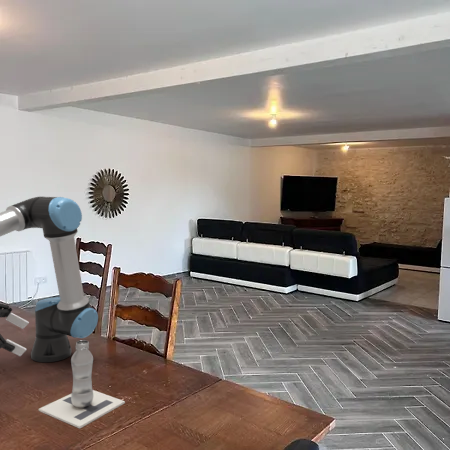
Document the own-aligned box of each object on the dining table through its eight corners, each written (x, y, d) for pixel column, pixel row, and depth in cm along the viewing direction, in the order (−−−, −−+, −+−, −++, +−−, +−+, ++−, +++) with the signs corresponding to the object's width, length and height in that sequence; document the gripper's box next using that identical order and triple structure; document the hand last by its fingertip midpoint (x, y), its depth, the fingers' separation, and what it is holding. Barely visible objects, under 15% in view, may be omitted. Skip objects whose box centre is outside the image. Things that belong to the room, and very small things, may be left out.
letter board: (85, 388, 150) (85, 387, 150) (124, 403, 140) (124, 401, 140) (38, 410, 134) (38, 408, 134) (79, 428, 125) (79, 426, 125)
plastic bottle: (87, 411, 133) (87, 346, 132) (66, 408, 135) (66, 344, 133) (97, 401, 139) (97, 339, 138) (77, 399, 141) (77, 337, 139)
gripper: (-40, 291, 138) (19, 323, 149) (-58, 341, 117) (13, 374, 128) (-24, 274, 138) (34, 307, 149) (-39, 321, 117) (30, 356, 127)
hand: (24, 338), depth 138 cm, fingers open, 13 cm apart
